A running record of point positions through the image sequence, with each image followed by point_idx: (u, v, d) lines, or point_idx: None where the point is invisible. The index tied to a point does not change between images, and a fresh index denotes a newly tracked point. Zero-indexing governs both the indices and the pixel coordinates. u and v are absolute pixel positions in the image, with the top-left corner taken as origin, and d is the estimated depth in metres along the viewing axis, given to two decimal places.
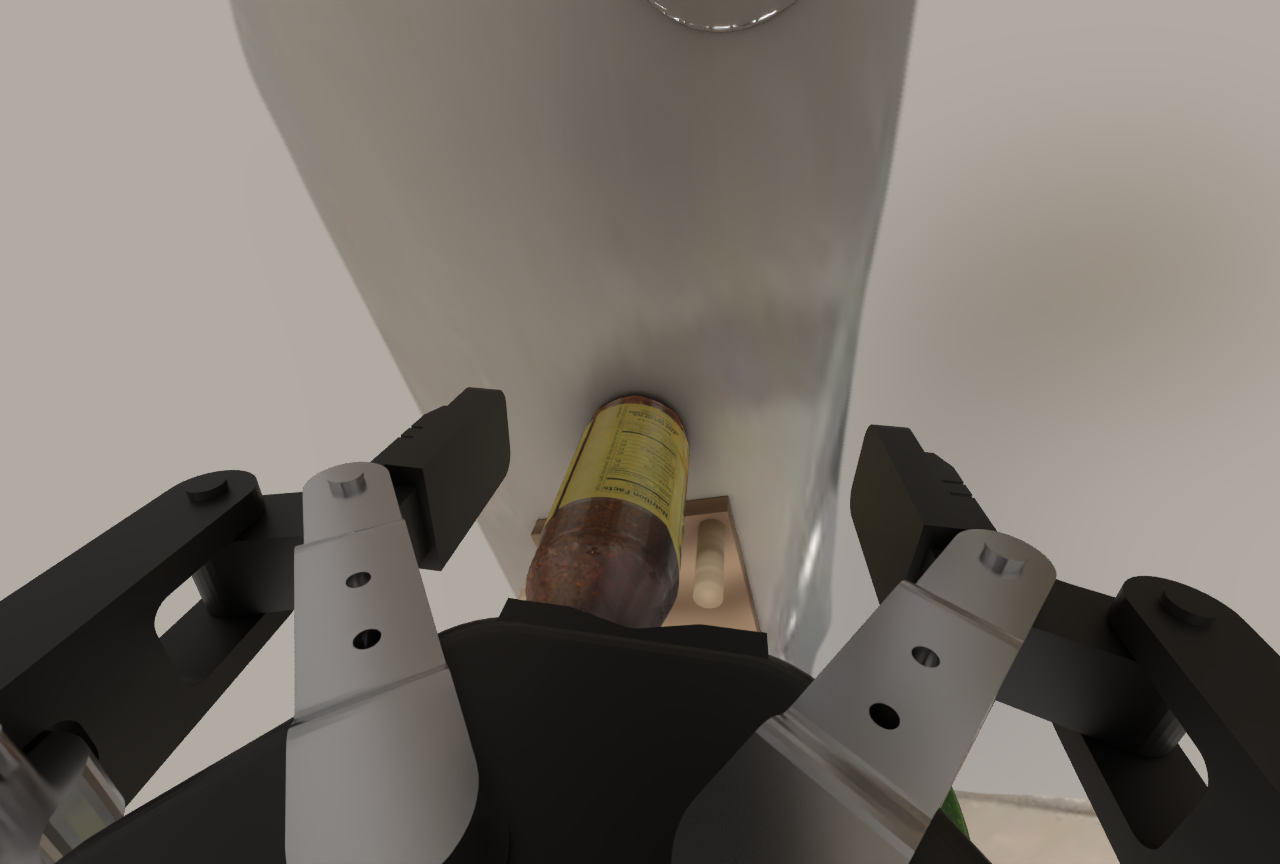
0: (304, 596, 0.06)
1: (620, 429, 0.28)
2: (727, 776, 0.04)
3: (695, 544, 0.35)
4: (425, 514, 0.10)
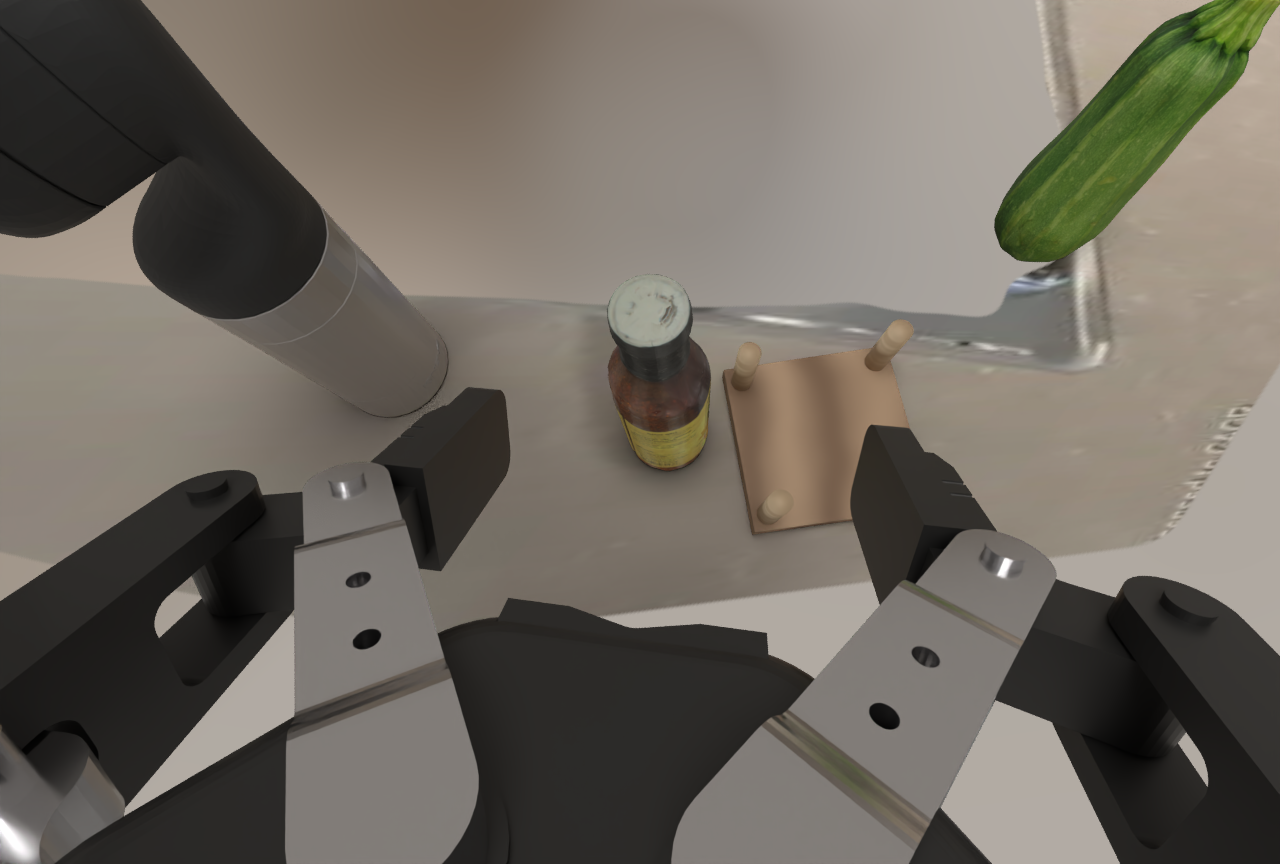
0: (304, 596, 0.06)
1: None
2: (727, 776, 0.04)
3: (758, 394, 0.44)
4: (425, 514, 0.10)
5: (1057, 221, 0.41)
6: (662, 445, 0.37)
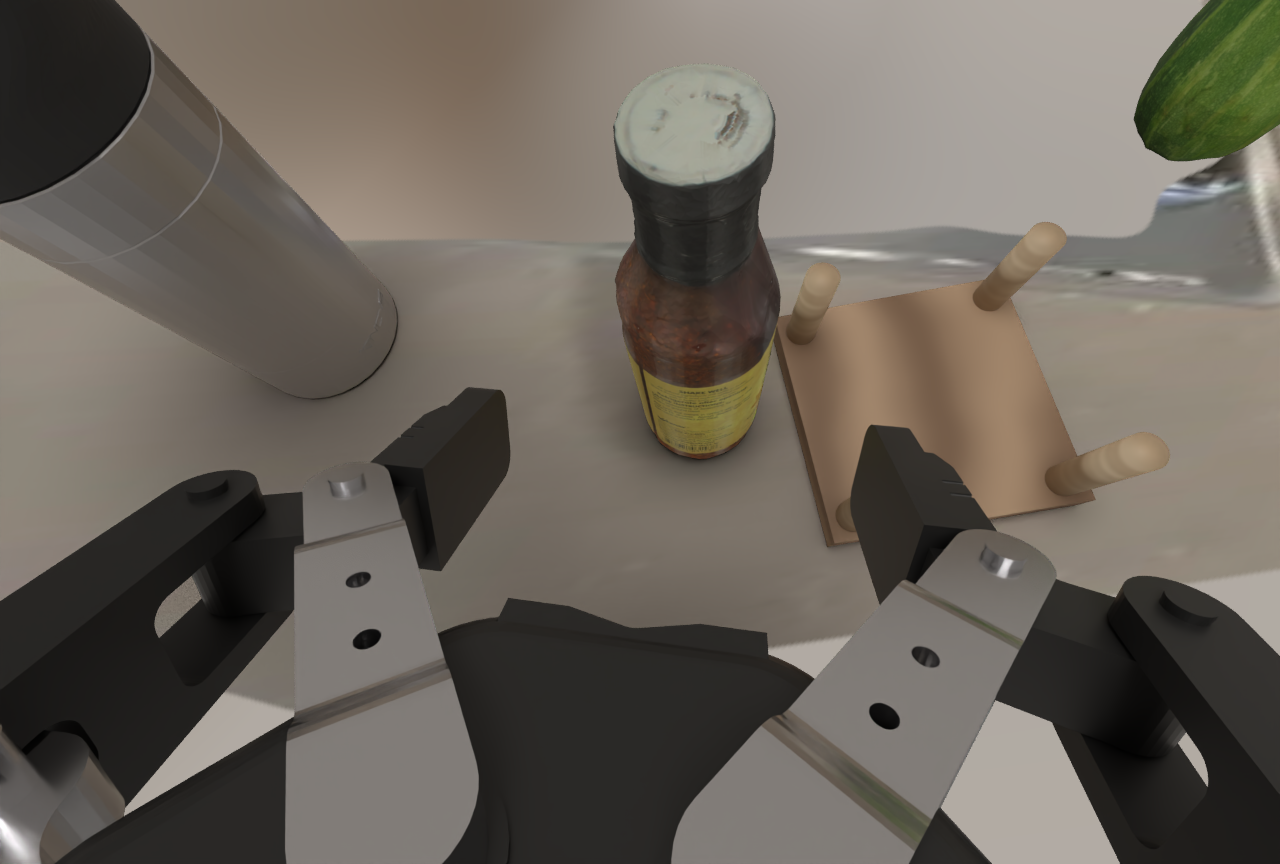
0: (304, 596, 0.06)
1: None
2: (727, 776, 0.04)
3: (825, 348, 0.31)
4: (425, 514, 0.10)
5: (1255, 81, 0.28)
6: (700, 414, 0.24)
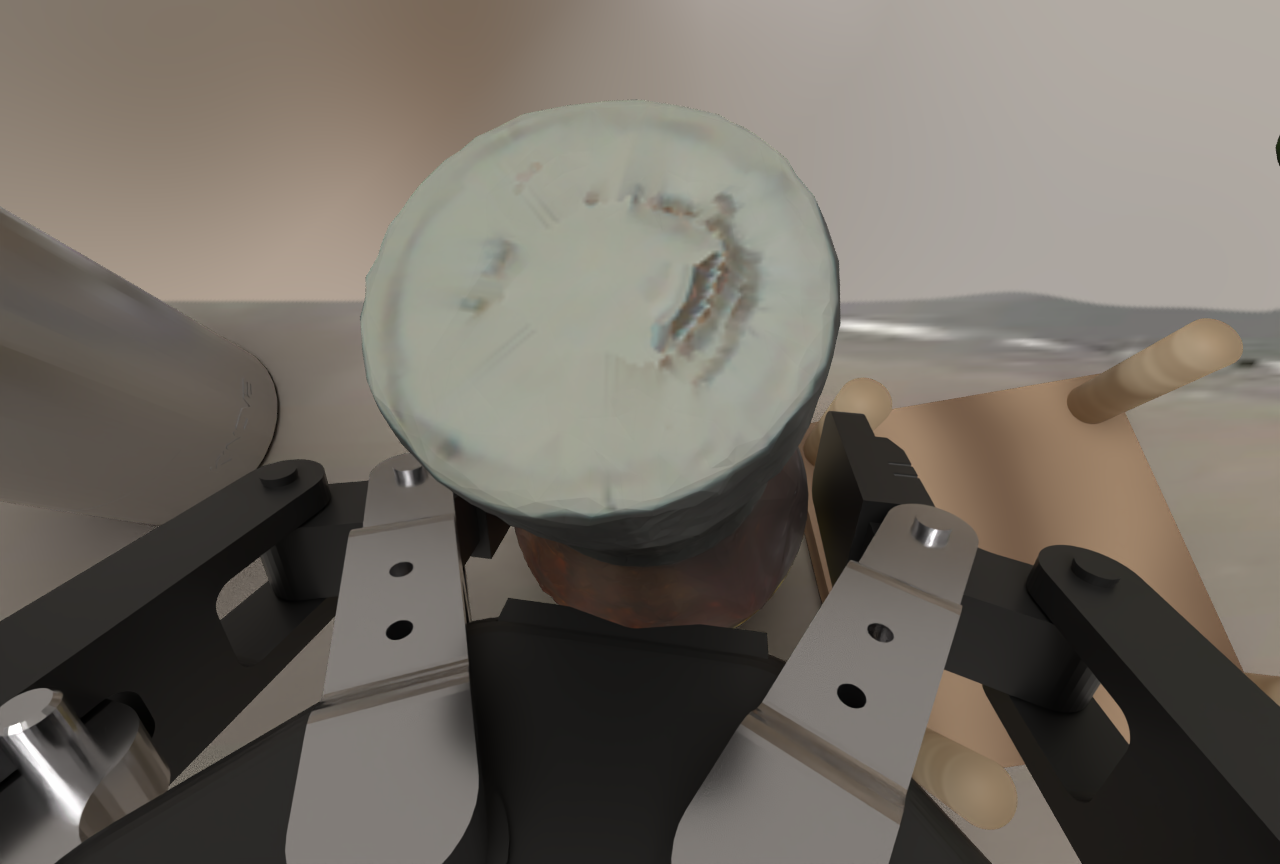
0: (350, 580, 0.06)
1: None
2: (727, 776, 0.04)
3: None
4: None
5: None
6: None
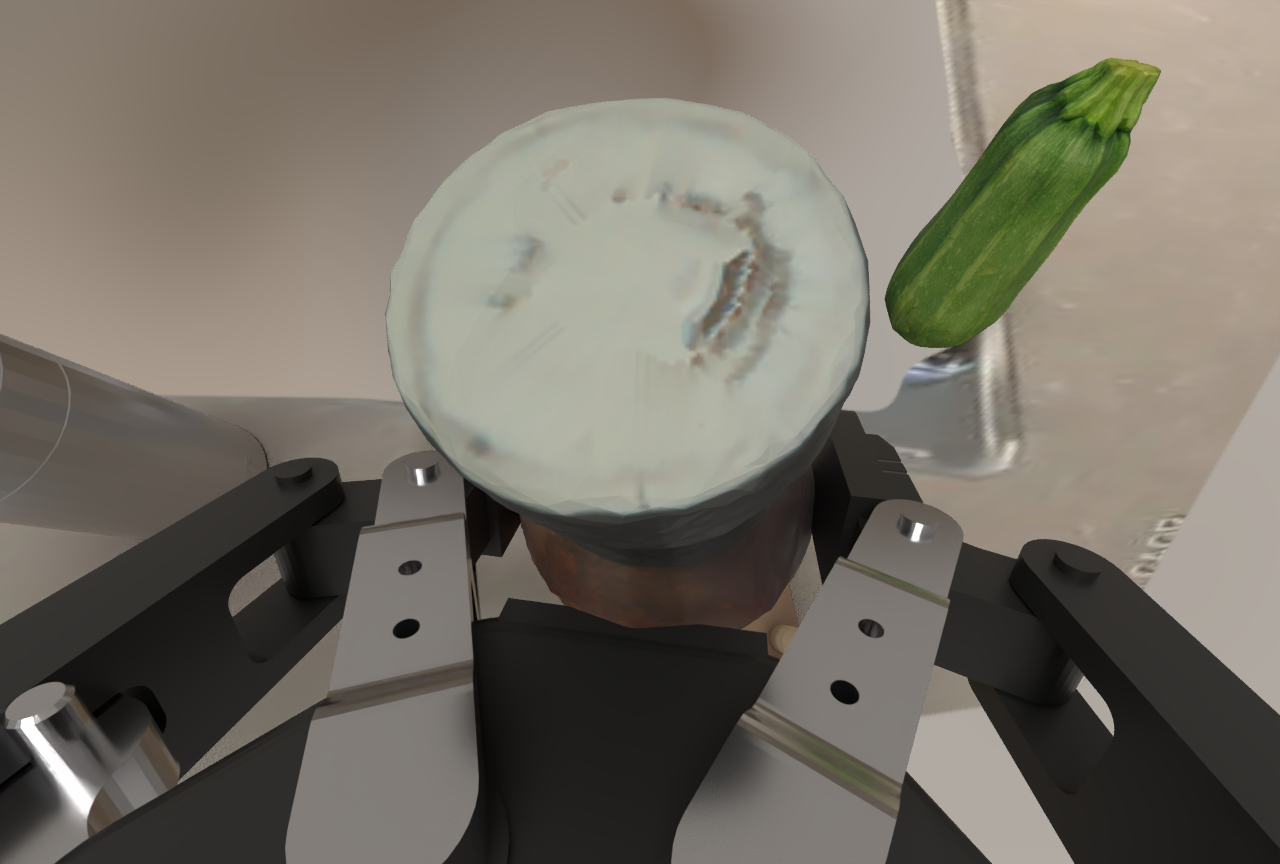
0: (359, 577, 0.06)
1: None
2: (727, 776, 0.04)
3: None
4: (490, 501, 0.10)
5: (942, 311, 0.35)
6: None
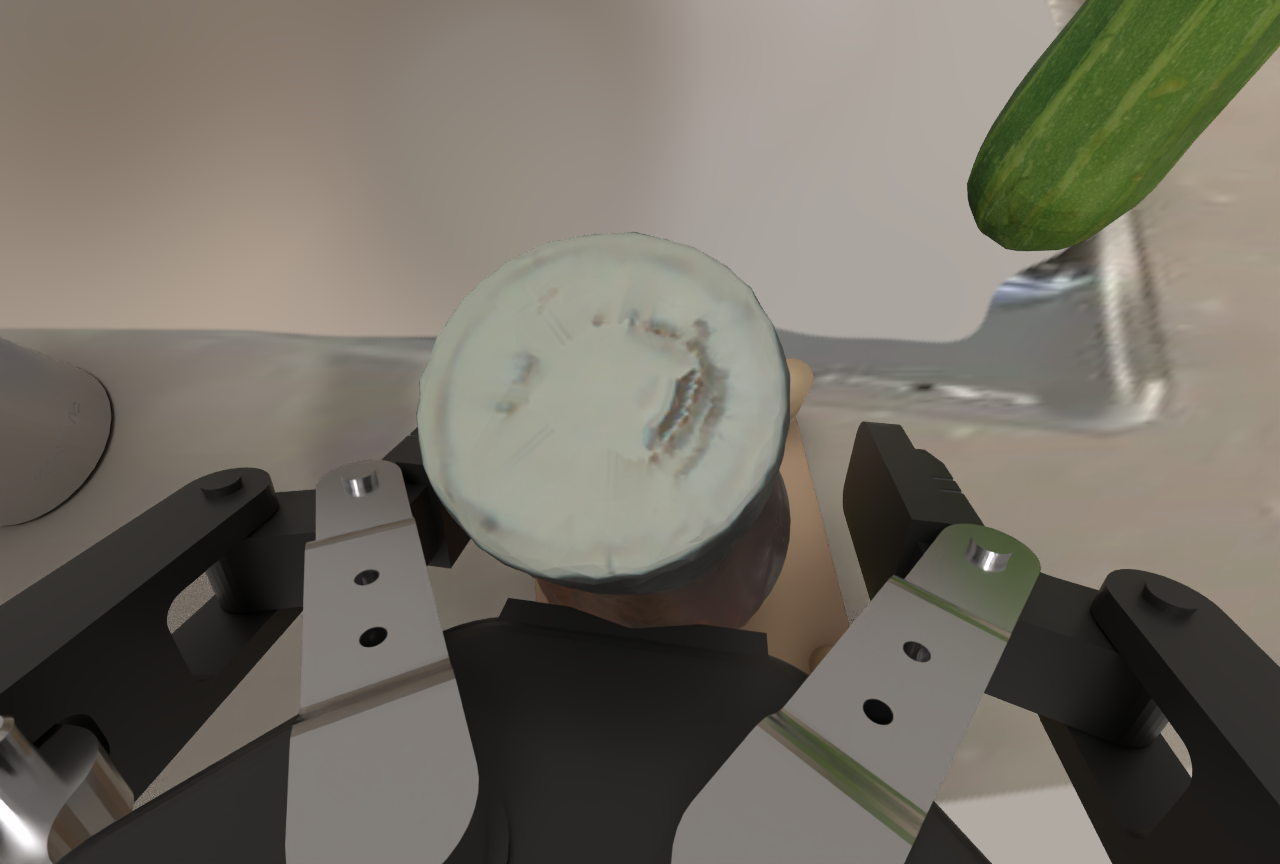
0: (313, 593, 0.06)
1: None
2: (727, 776, 0.04)
3: None
4: (436, 511, 0.10)
5: (1072, 175, 0.23)
6: None
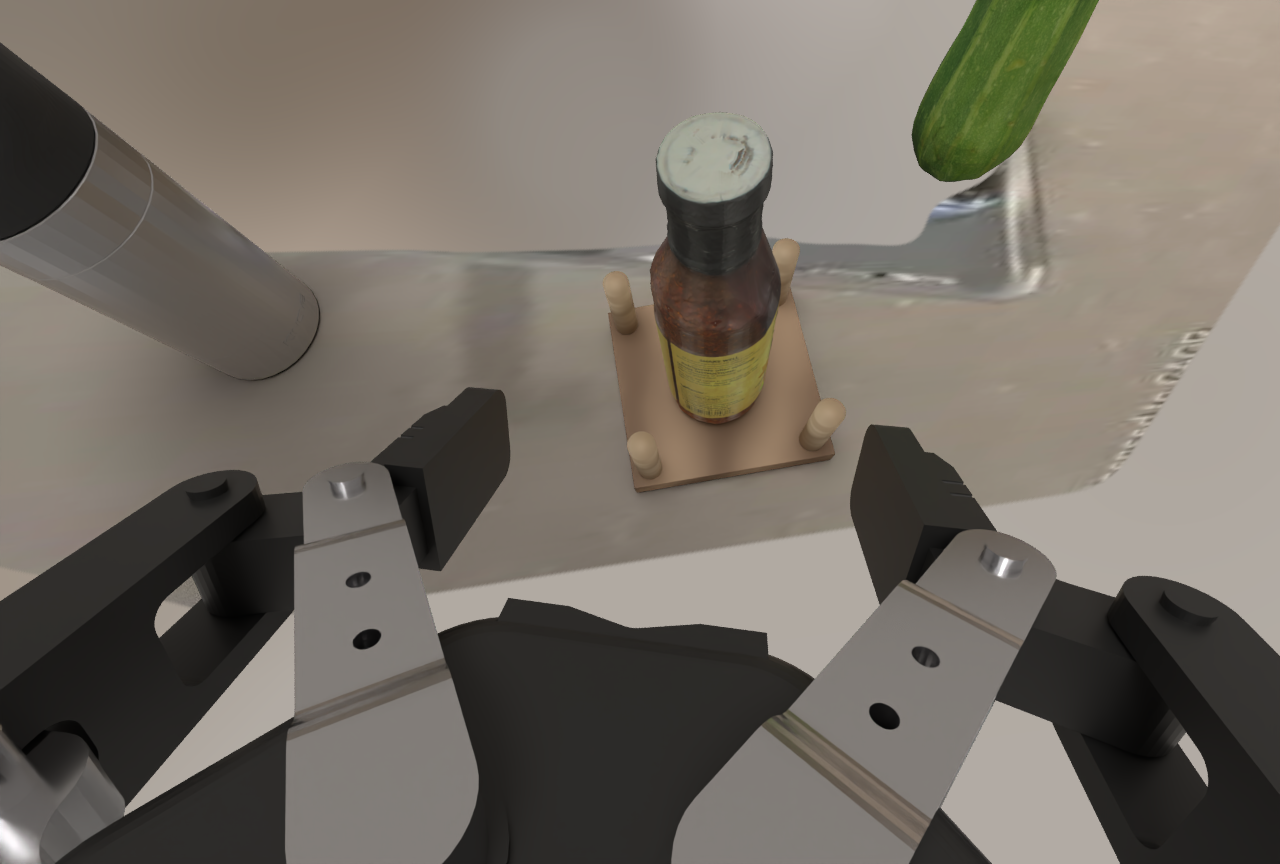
0: (304, 596, 0.06)
1: None
2: (727, 776, 0.04)
3: (644, 337, 0.39)
4: (425, 514, 0.10)
5: (969, 123, 0.36)
6: (716, 381, 0.29)
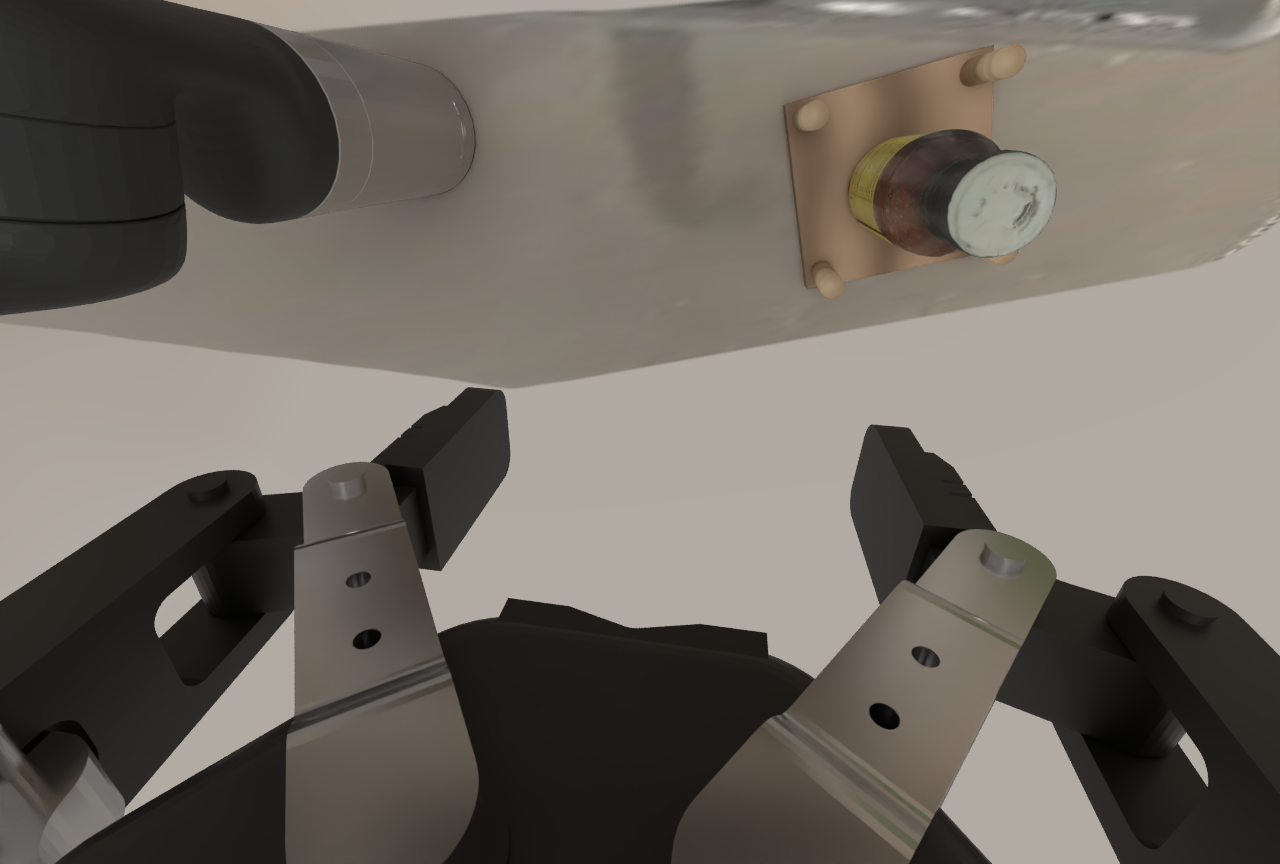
0: (304, 596, 0.06)
1: (856, 193, 0.36)
2: (727, 776, 0.04)
3: (823, 134, 0.39)
4: (425, 514, 0.10)
5: None
6: None
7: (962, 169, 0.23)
